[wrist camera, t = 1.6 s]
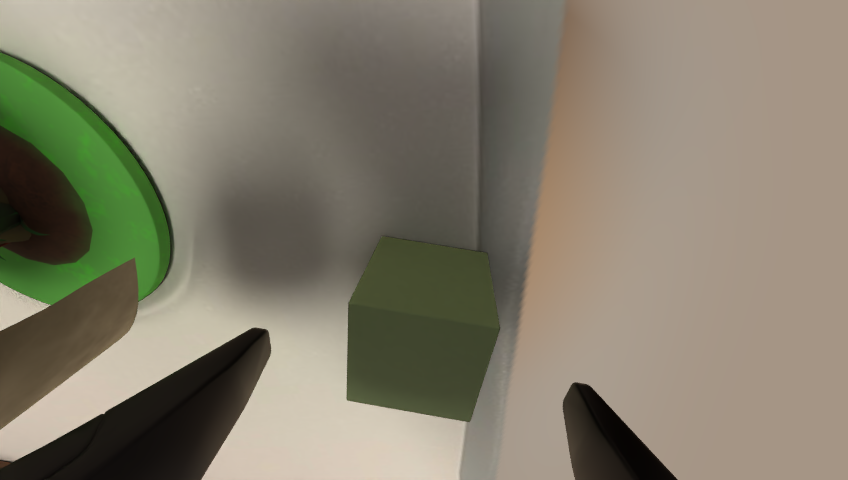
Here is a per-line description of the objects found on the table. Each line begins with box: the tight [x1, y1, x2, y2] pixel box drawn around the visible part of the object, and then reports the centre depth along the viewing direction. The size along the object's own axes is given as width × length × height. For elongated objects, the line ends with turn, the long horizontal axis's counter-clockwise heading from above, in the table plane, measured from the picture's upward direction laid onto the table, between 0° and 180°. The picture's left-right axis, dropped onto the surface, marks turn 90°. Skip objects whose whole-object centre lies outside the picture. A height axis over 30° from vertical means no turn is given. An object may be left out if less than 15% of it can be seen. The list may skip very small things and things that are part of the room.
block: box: [347, 236, 500, 422], centre depth 11 cm, size 4×4×4 cm
